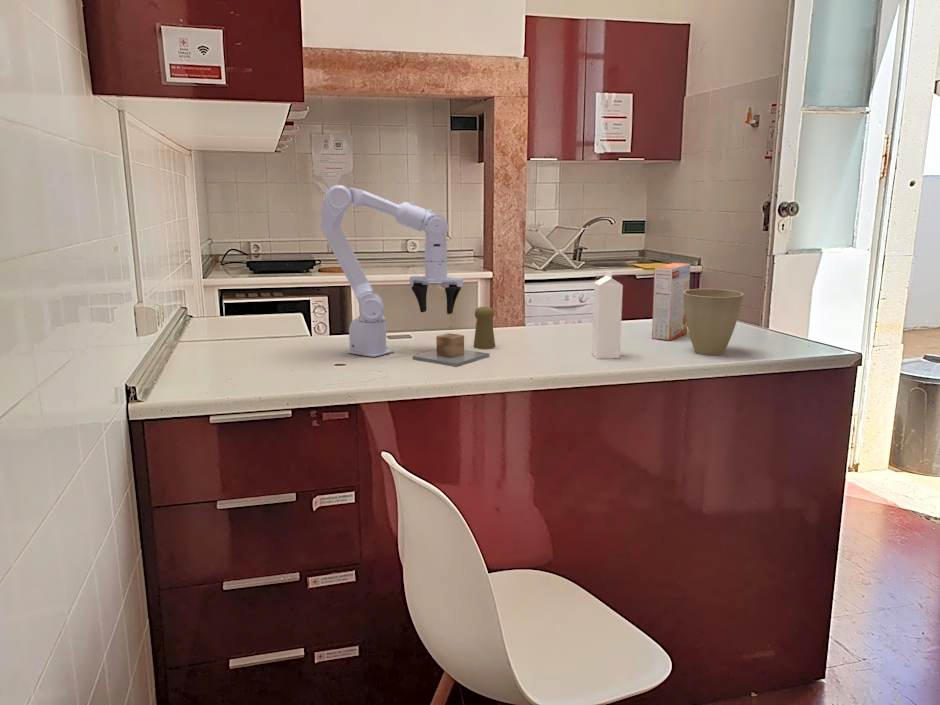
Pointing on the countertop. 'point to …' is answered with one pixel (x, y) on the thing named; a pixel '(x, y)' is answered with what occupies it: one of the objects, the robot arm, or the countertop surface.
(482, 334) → the cork
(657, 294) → the cracker box
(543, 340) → the countertop surface
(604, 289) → the milk
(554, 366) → the countertop surface
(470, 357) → the slate board
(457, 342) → the walnut cube
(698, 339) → the plant pot
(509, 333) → the countertop surface
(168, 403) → the countertop surface
